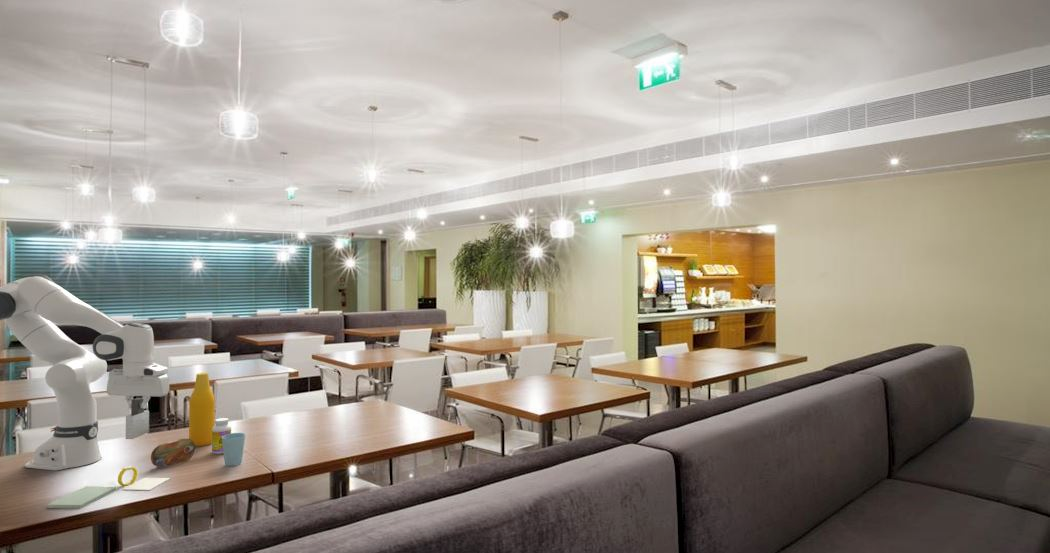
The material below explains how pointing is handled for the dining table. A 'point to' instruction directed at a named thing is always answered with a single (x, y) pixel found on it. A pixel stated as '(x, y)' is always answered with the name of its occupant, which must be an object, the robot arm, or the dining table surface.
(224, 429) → the supplement bottle
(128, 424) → the grey upright panel
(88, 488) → the plate
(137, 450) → the dining table surface
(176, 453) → the tin
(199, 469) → the dining table surface
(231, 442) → the cup
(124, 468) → the yellow ring
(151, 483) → the face down mat
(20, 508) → the dining table surface
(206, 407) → the yellow bottle
